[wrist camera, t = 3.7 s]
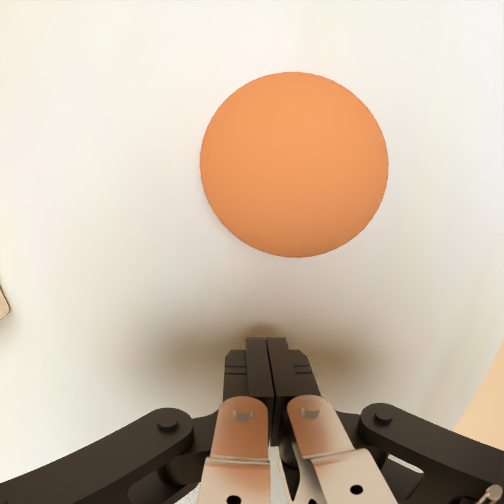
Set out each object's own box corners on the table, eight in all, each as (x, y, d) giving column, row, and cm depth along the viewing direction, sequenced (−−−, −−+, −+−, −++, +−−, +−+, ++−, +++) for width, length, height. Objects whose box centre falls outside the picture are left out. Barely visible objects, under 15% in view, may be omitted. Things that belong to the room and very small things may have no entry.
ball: (357, 227, 12) (432, 261, 7) (222, 248, 12) (209, 302, 7) (338, 94, 11) (402, 44, 5) (199, 110, 11) (168, 58, 5)
